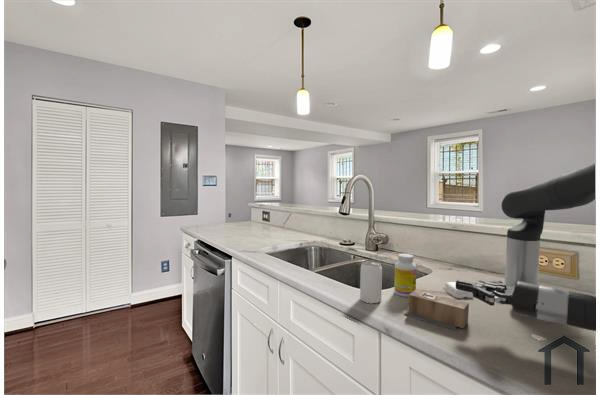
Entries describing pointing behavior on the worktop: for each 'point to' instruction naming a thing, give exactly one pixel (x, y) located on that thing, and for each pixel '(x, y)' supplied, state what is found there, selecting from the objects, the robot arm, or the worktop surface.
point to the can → (371, 281)
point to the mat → (430, 320)
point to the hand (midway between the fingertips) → (456, 284)
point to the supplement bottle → (405, 275)
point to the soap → (456, 291)
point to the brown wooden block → (439, 308)
